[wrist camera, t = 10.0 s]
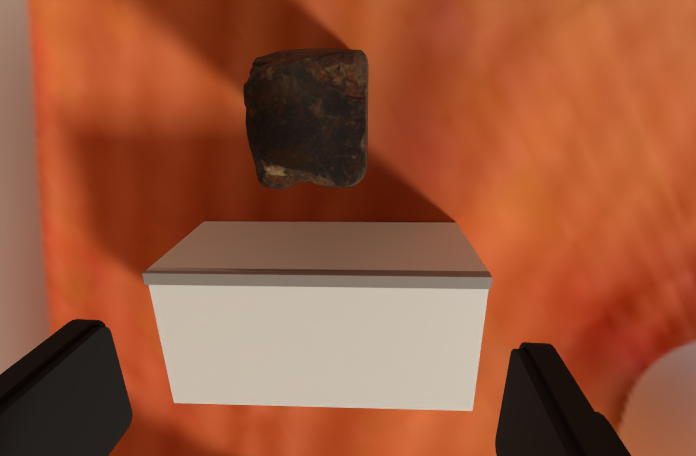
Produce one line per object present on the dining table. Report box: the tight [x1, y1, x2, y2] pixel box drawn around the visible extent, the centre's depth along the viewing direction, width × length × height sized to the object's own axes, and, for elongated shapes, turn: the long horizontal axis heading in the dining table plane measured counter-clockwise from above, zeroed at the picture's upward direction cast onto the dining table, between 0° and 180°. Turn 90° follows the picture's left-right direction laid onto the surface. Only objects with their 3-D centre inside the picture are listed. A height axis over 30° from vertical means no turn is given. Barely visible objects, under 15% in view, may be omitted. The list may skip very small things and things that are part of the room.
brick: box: [243, 49, 368, 189], centre depth 17 cm, size 11×4×5 cm
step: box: [142, 221, 492, 411], centre depth 22 cm, size 16×8×7 cm, turn 91°
